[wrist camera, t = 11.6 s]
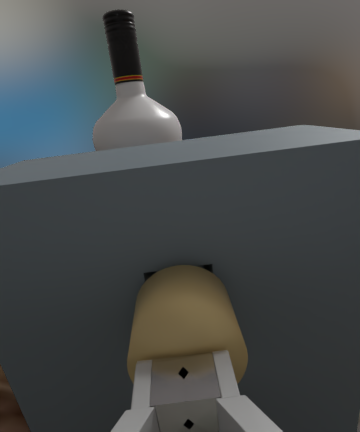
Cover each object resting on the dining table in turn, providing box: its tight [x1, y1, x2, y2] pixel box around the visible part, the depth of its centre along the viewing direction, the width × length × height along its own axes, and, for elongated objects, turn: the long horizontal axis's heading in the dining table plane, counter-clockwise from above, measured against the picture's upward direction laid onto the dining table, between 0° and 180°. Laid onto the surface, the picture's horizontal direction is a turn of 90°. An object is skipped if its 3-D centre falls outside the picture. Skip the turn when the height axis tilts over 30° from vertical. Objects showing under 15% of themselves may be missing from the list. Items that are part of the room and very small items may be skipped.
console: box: [0, 125, 360, 432], centre depth 18 cm, size 8×18×20 cm, turn 93°
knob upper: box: [127, 265, 248, 384], centre depth 16 cm, size 14×4×4 cm, turn 3°
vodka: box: [93, 10, 182, 151], centre depth 29 cm, size 9×9×30 cm
